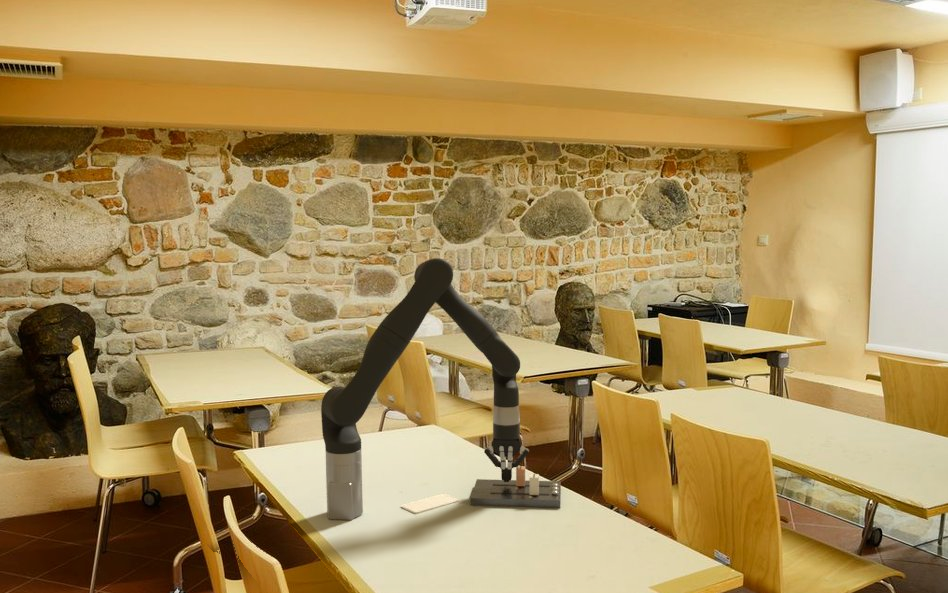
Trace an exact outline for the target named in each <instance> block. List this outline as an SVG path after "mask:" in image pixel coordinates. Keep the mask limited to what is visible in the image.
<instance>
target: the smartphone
mask: <svg viewBox="0 0 948 593" xmlns="http://www.w3.org/2000/svg"><path fill="white" fill-rule="evenodd" d="M458 502H460V500H459V499H458V498H456V497H454V496H452V495H448V494H445V493H441V494H438V495H437V494H436V495H432V496H430V497H426V498H422V499H419V500H418V499H417V500H415V501H412V502H408V503H404V504H401V508H402V509H403V510H406V511H408V512H411V513H412V514H415V515H417V514H422V513H425V512H428V511H432V510H435V509H438V508H441V507H445V506H448V505H451V504H456V503H458Z"/></svg>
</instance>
